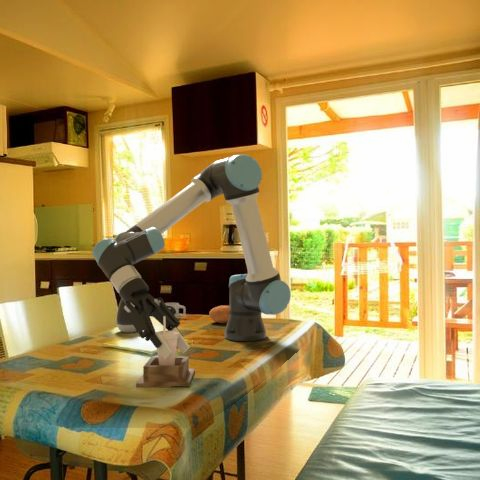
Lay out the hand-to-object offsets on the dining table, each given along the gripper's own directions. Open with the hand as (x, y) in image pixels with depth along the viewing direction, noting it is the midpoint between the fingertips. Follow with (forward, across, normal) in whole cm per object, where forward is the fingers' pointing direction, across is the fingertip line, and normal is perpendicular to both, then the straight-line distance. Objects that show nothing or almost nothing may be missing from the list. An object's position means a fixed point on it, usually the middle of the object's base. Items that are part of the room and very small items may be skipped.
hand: (177, 352), depth 120 cm
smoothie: (+1, 0, -6) cm, 6 cm away
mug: (-36, -71, -47) cm, 92 cm away
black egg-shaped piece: (-34, -39, -44) cm, 68 cm away
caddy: (+3, 0, -8) cm, 8 cm away
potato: (-19, -72, -29) cm, 80 cm away
